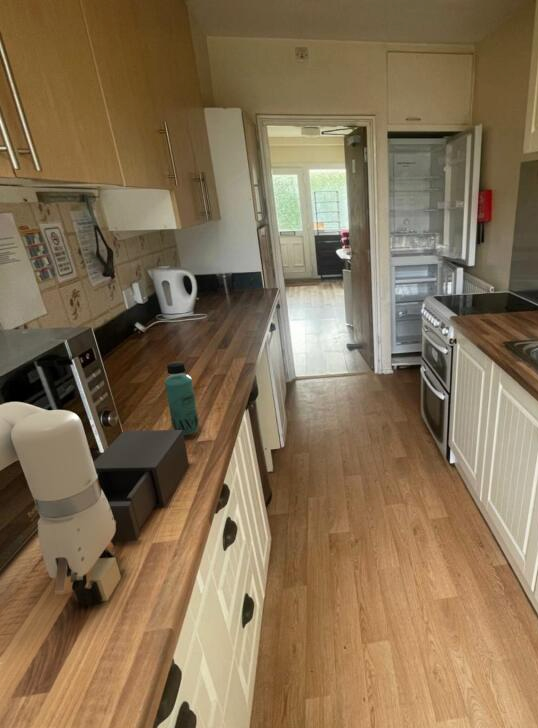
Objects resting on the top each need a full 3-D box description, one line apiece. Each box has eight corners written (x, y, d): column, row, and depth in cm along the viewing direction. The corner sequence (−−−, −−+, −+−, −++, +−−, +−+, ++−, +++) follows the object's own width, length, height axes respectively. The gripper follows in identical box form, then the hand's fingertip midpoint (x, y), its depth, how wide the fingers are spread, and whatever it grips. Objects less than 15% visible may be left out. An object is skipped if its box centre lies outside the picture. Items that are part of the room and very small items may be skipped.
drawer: (125, 559, 72) (115, 523, 69) (54, 562, 71) (41, 525, 68) (167, 493, 89) (160, 461, 86) (109, 494, 88) (100, 462, 85)
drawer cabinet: (164, 507, 86) (155, 467, 82) (98, 509, 85) (86, 468, 81) (189, 465, 99) (182, 429, 96) (133, 467, 98) (124, 430, 95)
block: (77, 602, 66) (69, 581, 64) (93, 578, 70) (86, 558, 68) (107, 600, 66) (100, 579, 64) (121, 577, 70) (115, 557, 68)
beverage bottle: (168, 438, 110) (153, 366, 102) (185, 426, 116) (172, 357, 108) (190, 442, 109) (177, 369, 101) (206, 430, 115) (195, 360, 107)
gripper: (76, 462, 68) (103, 549, 75) (-5, 539, 53) (39, 640, 60) (125, 461, 69) (147, 548, 76) (60, 537, 53) (95, 637, 60)
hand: (99, 587), depth 68 cm, fingers closed on block, 4 cm apart
